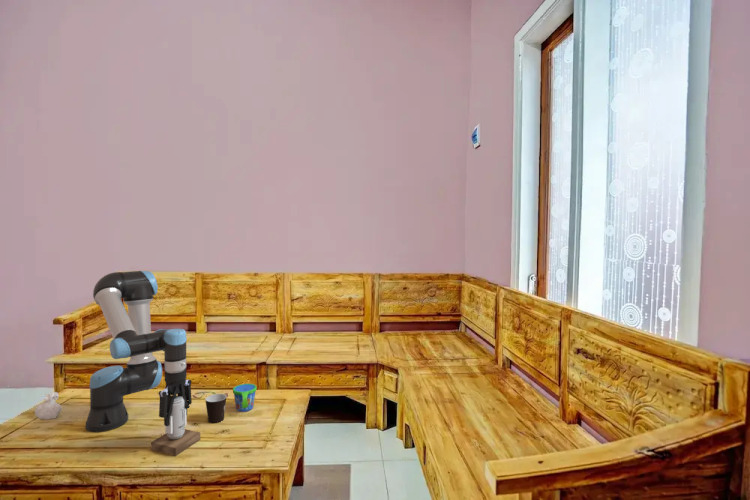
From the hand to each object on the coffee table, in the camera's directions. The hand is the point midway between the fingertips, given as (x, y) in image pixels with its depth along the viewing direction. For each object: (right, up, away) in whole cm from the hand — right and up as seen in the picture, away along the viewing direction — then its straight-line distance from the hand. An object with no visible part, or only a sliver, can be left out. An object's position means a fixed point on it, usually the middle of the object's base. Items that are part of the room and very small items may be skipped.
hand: (176, 428), depth 150 cm
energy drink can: (0, -3, 0) cm, 3 cm away
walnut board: (0, -6, 0) cm, 6 cm away
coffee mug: (+7, -6, +22) cm, 24 cm away
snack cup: (+16, -5, +32) cm, 36 cm away
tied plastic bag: (-68, -5, +22) cm, 71 cm away
